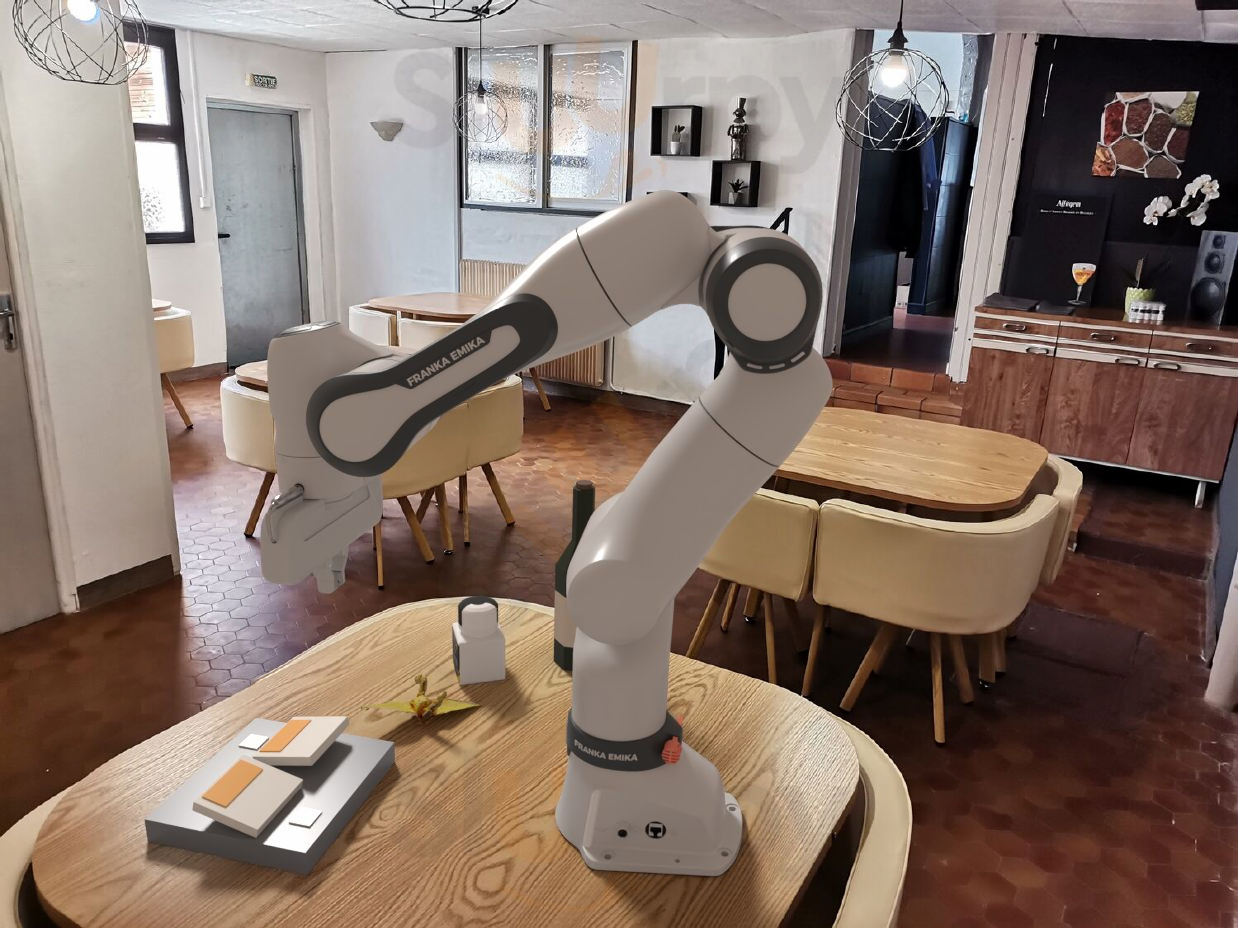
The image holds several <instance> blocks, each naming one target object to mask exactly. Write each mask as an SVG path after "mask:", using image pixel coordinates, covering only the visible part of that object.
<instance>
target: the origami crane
mask: <svg viewBox="0 0 1238 928" xmlns="http://www.w3.org/2000/svg"><path fill="white" fill-rule="evenodd" d="M414 683H415V684H416V685H419V688H418V692H417V694H416V697H414V698H412V699H411V700H410V701H399V700H397V701H387V702H384V703H383V702H382V703H380V704H379V703H378V704H373V705H361V707H359V708H358V709H361V710H363V709H365V711H368V710H369V709H384V710H392V711H399V712H402V713H405V714H407V715H410V716H416V719H417V720H418V722H419V723H418V725H419V726H427V727H428V724H429V723H431V720H433V718H434V717H431V716H433V715H434V716H438V715H442V714H448V713H449V712H452V711H458V710H464V709H470V708H472V707H480V706H482V704H479V703H476V702H473V701H466V700H461V699H460V700H459V699H454V698H449V697H448V698H447V695H448V694H447V693H448V692H447V691H446V690H445V691H443V692H442V694H439V692H438V693H437V694H436V696H437V698H431V699H429V698H428V697H427V696H426V693H427V690H428V689H427V688H428V678H427V676H423V674H418V675H416V676H414ZM438 694H439V695H438ZM429 711H431V712H430V714H429V716H430V717H431V718H430V719H429V720H428V721H427V719H426V718H425V716H424V715H427V713H428V712H429ZM423 718H425V719H424V720H425V722H424V723H423V722H421V720H422V719H423Z"/></svg>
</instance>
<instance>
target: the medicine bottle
mask: <svg viewBox="0 0 1238 928" xmlns="http://www.w3.org/2000/svg"><path fill="white" fill-rule="evenodd" d="M457 621H458V622H457ZM457 621H455V622H453V623H452V625H451V629H452V630H451V631H452V632H451V633H452V634H451V635H452V636H451V637H452V638H451V639H452V641H451V642H452V663H453V667H454V671H455V674H456V675H455V676H456V679H457V683H458V685H459V686H465V685H473V684H481V683H488V682H489V683H490V682H497V681H504V680H505V679H506V637H505V635H504V632H503V629H502V627H501V625H500V622H499V603H498V602H497V601H496V600H495V598H492V597H490V596H485V595H471V596H469V597H466V598H464V599H462V600H461V601H460V602H459V603H458V605H457Z"/></svg>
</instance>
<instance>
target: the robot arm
mask: <svg viewBox="0 0 1238 928" xmlns="http://www.w3.org/2000/svg"><path fill="white" fill-rule="evenodd" d="M823 289H824V288H823V282H822V278H821V274H820V272H819V269H818V267H817V265H816V264H815V262H814V260H813V259H812V258H811V256H810V255H809V254H808V252H807V251H806V250H805V248H804V247H803V246H802V245H801V244H800V243H799V242H798V241H797V240H796V239H795V238H793V237H792V236H790V235H788V234H787V233H784V232H782V231H779V230H776V229H773V228H768V227H766V226H759V225H749V224H748V225H710V224H709V223H708V221H707V220H706V218H705V216H704V215H703V213H702V212H701V210H700V209H699V208H698V206H697V205H696V204H695V203H693V201H691V199H689V198H688V197H686V196H685V195H683V194H682V193H680V192H678V191H675V190H672V189H661V190H657V191H654V192H650V193H648V194H645V195H641V196H639V197H637V198H634V199H631V200H629V201H627V202H624V203H622V204H619V205H617V206H615V207H613V208H611V209H609V210H607V211H605V212H603V213H601V214H599V215H597V216H595V217H593V218H591V219H590V220H588V221H586V222H584V223H582V224H581V225H579V226H578V227H576V228H574V229H572V230H571V231H569V232H568V233H566V234H565V235H563V236H562V237H560V238H559V239H557V240H556V241H554V242H553V243H552V244H550V245H549V246H547V247H546V248H545V249H544V250H543V251H542V252H541V253H539V254H538V255H537V256H536V257H534V258H533V259H532V260H531V261H530V262H529V263H528V264H527V265H525V267H524V268H522V269H521V270H520V271H519V273H517V274H516V275H515V276H514V277H513V278H512V279H511V280H510V281H509V282H508V283H507V284H506V285H505V286H504V287H503V288H502V289H501V290H500V291H499V292H498V293H497V294H496V295H495V296H494V297H493V298H492V299H491V300H490V301H489V302H488V303H486V305H485V306H483V307H482V308H481V309H479V311H478V312H477V313H475V314H474V315H473V316H472V317H470V318H469V319H468V320H466V321H465V322H464V323H463V324H461V325H459V326H458V327H456V328H454V329H453V330H451V331H449V332H447V333H446V334H445V335H443V336H441V337H439V338H437V339H436V340H434V341H433V342H431V343H429V344H428V345H425V346H424V347H423V348H421V349H419V350H418V351H417V350H416V351H415V352H414V353H404V352H400V351H397V350H395V349H394V350H393V349H390V348H387V347H383V346H381V345H379V344H376V343H374V342H371V341H369V340H367V339H365V338H363V337H362V336H359V335H358V334H356V333H354V332H353V331H352V330H350V329H349V328H348V327H347V326H346V325H345V324H344V323H342V322H339V321H335V320H322V321H316V322H310V323H304V324H302V325H299V326H298V325H297V326H293V327H289V328H287V329H284V330H282V331H280V332H278V333H277V334H276V335H274V336H273V338H272V339H271V340H270V342H269V345H268V350H267V359H266V361H267V364H266V365H267V367H266V375H267V392H268V403H269V410H270V413H271V416H272V417H273V421H274V424H275V429H276V430H275V431H276V432H275V433H276V435H275V439H274V456H275V467H276V472H277V473H276V475H277V482H278V483H277V484H278V490H279V492H280V494H278V495H276V496H274V497H273V498H272V499H271V500H270V505H269V507H268V509H267V511H266V512H265V514H264V515H263V517H262V520H261V525H260V539H259V540H260V544H259V545H260V566H261V568H260V569H261V574H262V576H263V578H264V580H266V581H267V582H268V583H270V584H277V585H287V586H295V585H297V584H299V583H300V582H302V581H303V580H304V579H305V578H307V577H309V575H311V574H313V576H314V578H315V579H316V583H317V584H316V585H317V591H318V592H319V593H320V594H326V595H327V594H328V595H330V594H332V593H333V592H335V591H336V590H337V589H338V588H339V587H341V586H342V585H343V584H344V583H345V582H346V576H345V573H346V572H345V568H346V564H347V561H348V558H349V557H348V556H349V553H350V552H349V551H350V550H349V549H350V548H349V545H351V544H352V543H354V541H356V540H357V539H359V538H360V537H361V536H363V535H364V534H365V533H367V532H368V531H369V530H371V529H373V527H375V526H376V525H378V524H379V523H380V521H381V518H382V515H383V512H384V494H383V492H384V491H383V479H382V474H384V473H385V472H387V471H389V470H390V469H392V468H393V467H394V466H395V465H396V464H397V463H398V462H399V461H400V460H401V459H402V458H403V456H405V454H406V452H407V451H409V450H410V449H412V447H414V445H416V443H418V442H419V441H420V440H421V439H422V438H424V436H426V435H427V434H428V433H429V432H430V431H431V430H432V429H433V428H434V427H435V426H436V425H437V424H438V423H439V421H440V420H441V418H442V417H443V415H445V414H447V413H448V412H451V410H453V409H455V408H457V407H458V406H460V405H462V404H463V403H465V402H467V401H469V400H470V399H472V398H474V397H475V396H477V395H479V394H480V393H482V392H483V391H486V390H487V389H489V388H490V387H492V386H495V384H497V383H499V382H501V381H503V380H505V379H507V378H509V377H511V376H514V375H516V374H519V373H520V372H521V373H522V372H523V371H526V370H528V369H532V368H534V367H537V366H540V365H542V364H545V363H548V362H551V361H555V360H556V359H560V358H562V357H566V356H569V355H572V354H574V353H576V352H577V353H578V352H579V351H580V352H581V351H583V350H585V349H588V348H590V347H594V346H595V345H598V344H600V343H603V342H606V341H607V340H608V339H611V338H613V337H615V336H617V335H620V334H621V333H624V332H625V331H627V330H629V329H630V328H632V327H633V326H636V325H637V324H639V323H641V322H642V321H644V320H646V319H648V318H650V316H653V315H654V314H656V313H657V312H659V311H662V310H665V309H667V308H671V307H674V306H679V305H691V306H692V305H693V306H697V307H701V308H702V310H703V311H704V312H705V313H706V315H707V317H708V319H709V321H710V324H711V326H712V328H713V330H714V331H715V333H716V334H717V336H718V337H719V339H720V340H721V341H722V343H723V344H724V346H725V347H726V348H727V350H728V351H729V354H728V357H727V359H726V361H725V363H724V365H723V367H722V368H721V370H720V372H719V374H718V376H717V377H716V378H715V379H714V380H713V381H712V382H711V383H710V384H709V385H708V386H707V388H706V389H704V391H703V392H702V393H701V394H700V395H699V396H698V398H697V399H696V400H695V401H694V403H692V405H691V406H690V407H689V408H688V409H687V411H686V412H685V413H684V414H683V415H682V416H681V417H680V418H679V420H678V421H677V422H676V424H675V425H674V426H673V427H672V428H671V429H670V431H668V433H666V435H665V436H664V438H662V440H661V441H660V442H659V444H657V445H656V447H655V448H654V449H653V451H652V452H651V454H649V456H648V458H646V461H645V462H644V463H643V465H642V466H641V467H640V469H639V470H638V472H637V473H636V474H635V475H634V477H633V478H632V480H631V481H630V482H629V484H628V485H627V487H626V488H625V489H624V491H621V492H618V493H616V494H615V495H613V496H611V497H609V498H607V500H605V501H604V502H603V503H601V504H600V505H598V507H597V508H596V509H595V511H594V512H593V514H592V516H591V517H590V519H589V521H588V523H587V526H586V528H585V530H584V533H583V535H582V537H581V539H580V542H579V544H578V546H577V549H576V551H575V553H574V555H573V558H572V560H571V562H570V565H569V568H568V571H567V580H566V594H567V606H568V610H569V613H570V616H571V618H572V620H573V622H574V623H575V625H576V626H577V628H576V636H575V642H574V649H573V672H572V683H571V686H572V687H571V691H572V692H571V707H570V709H569V710H568V713H567V718H566V726H565V727H566V729H565V743H566V755H567V757H568V758H567V765H566V772H565V777H564V782H563V786H562V790H561V793H560V797H559V799H558V802H557V804H556V807H555V813H554V816H555V822H556V823H555V824H556V826H557V828H558V829H559V831H560V833H561V834H562V835H563V838H564V839H566V840H567V841H568V842H570V844H572V845H574V847H576V848H577V849H578V851H579V852H580V854H581V857H582V859H583V860H584V863H585V864H586V865H587V866H588V867H589V868H590V869H593V870H598V871H612V872H613V871H614V872H615V871H617V872H631V873H633V872H634V873H650V874H651V873H653V874H654V873H655V874H669V875H670V874H671V875H686V876H687V875H688V876H689V875H690V876H704V877H705V876H706V877H707V876H708V877H718V876H721V875H722V874H724V873H725V872H726V871H728V869H730V868H731V866H732V865H733V864H734V862H735V861H736V859H737V857H738V854H739V851H740V848H741V844H742V841H743V840H742V839H743V831H744V829H743V827H744V826H743V824H744V823H743V814H742V809H741V807H740V805H739V803H738V801H737V799H736V798H735V797H734V796H733V794H731V793H729V792H727V791H725V789H724V788H725V787H724V783H723V779H722V776H721V774H720V771H719V769H718V768H717V766H716V765H715V764H713V763H712V762H711V761H710V760H708V759H707V758H705V757H704V756H703V755H701V754H700V753H699V752H697V751H696V750H695V749H694V748H693V747H690V746H689V745H688V744H687V743H685V742H684V740H683V735H684V734H683V731H684V730H683V721H684V718H683V713H682V712H680V714H679V717H678V720H676V718H674V717H673V716H672V715H671V714H670V712H669V711H668V709H667V707H668V706H667V705H668V691H669V675H670V673H669V672H670V659H671V656H670V655H671V647H672V646H671V644H672V633H673V621H674V610H675V609H674V608H675V598H676V596H677V595H678V594H679V592H680V591H681V590H682V589H683V588H684V586H685V585H686V583H687V582H688V581H689V580H690V578H691V577H692V576H693V574H694V573H695V571H696V570H697V569H698V568H699V566H700V564H701V563H702V562H703V561H704V559H705V558H706V556H708V553H709V552H710V551H711V549H712V548H713V546H714V545H715V543H716V542H717V540H718V539H719V537H720V536H721V535H722V534H723V532H724V531H725V529H726V528H727V527H728V525H729V524H730V523H731V522H732V520H733V519H734V518H735V517H736V515H737V514H739V512H740V511H742V509H743V508H744V507H745V506H746V505H747V503H748V502H749V501H750V500H751V499H752V498H753V497H754V495H756V494H757V493H758V491H759V490H760V489H761V488H762V486H764V484H766V482H767V481H768V480H769V479H770V478H771V477H772V476H773V474H775V472H776V471H777V470H778V469H779V468H780V467H781V466H782V465H783V463H785V461H786V460H787V459H788V458H789V457H790V456H791V454H792V453H793V452H794V451H795V449H796V448H797V447H798V446H799V445H800V444H801V442H802V440H803V439H804V438H805V436H806V435H807V434H808V432H809V431H811V428H812V427H813V425H814V423H815V422H816V420H817V419H818V417H819V416H820V415H821V413H822V411H823V410H824V408H825V406H826V405H827V403H828V401H829V400H830V397H831V396H832V392H833V387H834V386H833V377H832V373H831V370H830V368H829V366H828V364H827V362H826V361H825V359H824V358H823V356H822V355H821V354H820V353H819V351H817V349H816V348H814V342H815V337H816V332H817V328H818V324H819V320H820V316H821V311H822V307H823V295H824V294H823V293H824V292H823V291H824V290H823Z"/></svg>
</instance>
